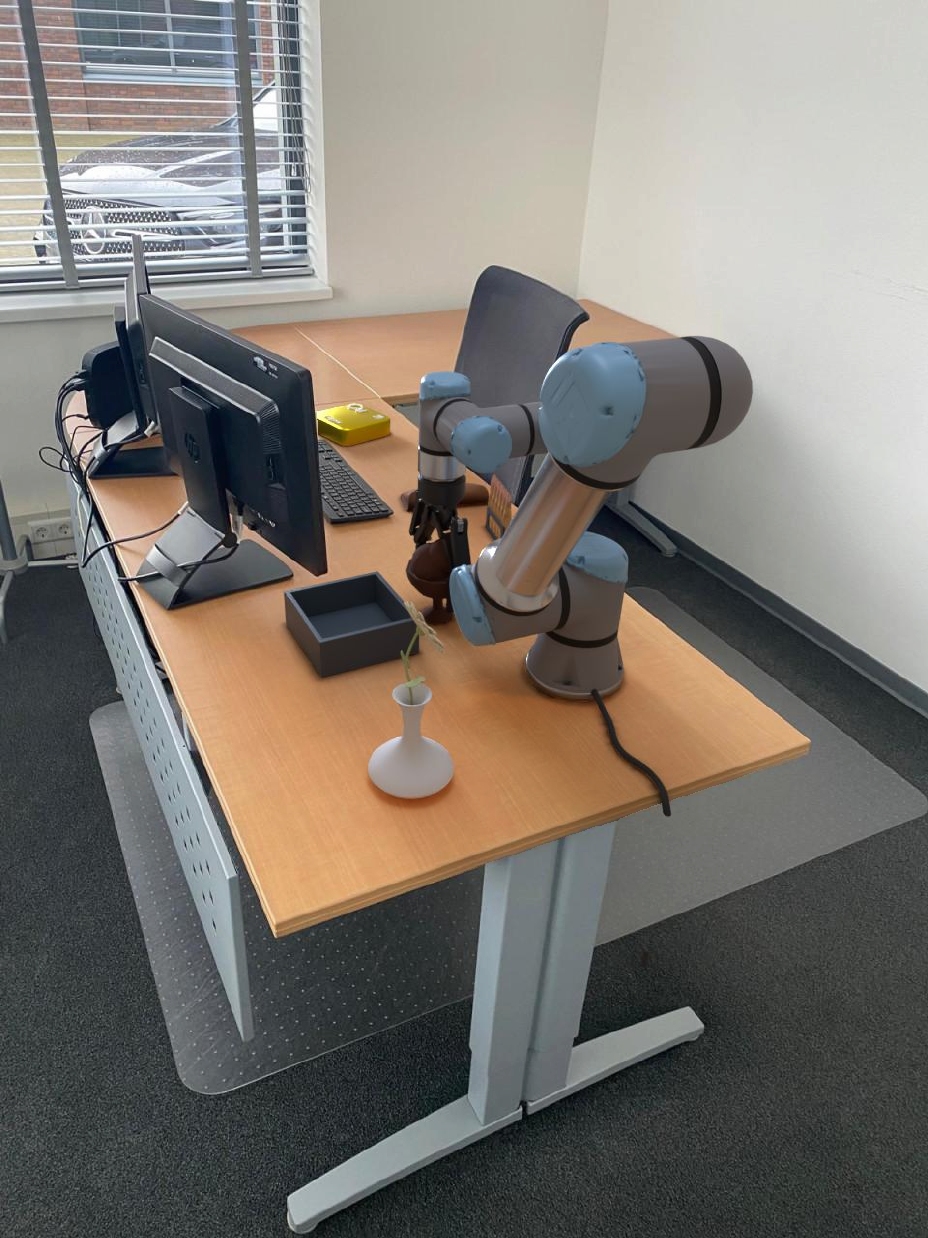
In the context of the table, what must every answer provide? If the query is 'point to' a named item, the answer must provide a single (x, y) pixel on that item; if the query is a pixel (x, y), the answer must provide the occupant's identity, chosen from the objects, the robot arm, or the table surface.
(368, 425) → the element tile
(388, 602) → the open square box
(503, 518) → the ammunition clip
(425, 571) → the ice cream bowl
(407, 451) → the table surface
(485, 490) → the sunglasses case
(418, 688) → the flower in vase
